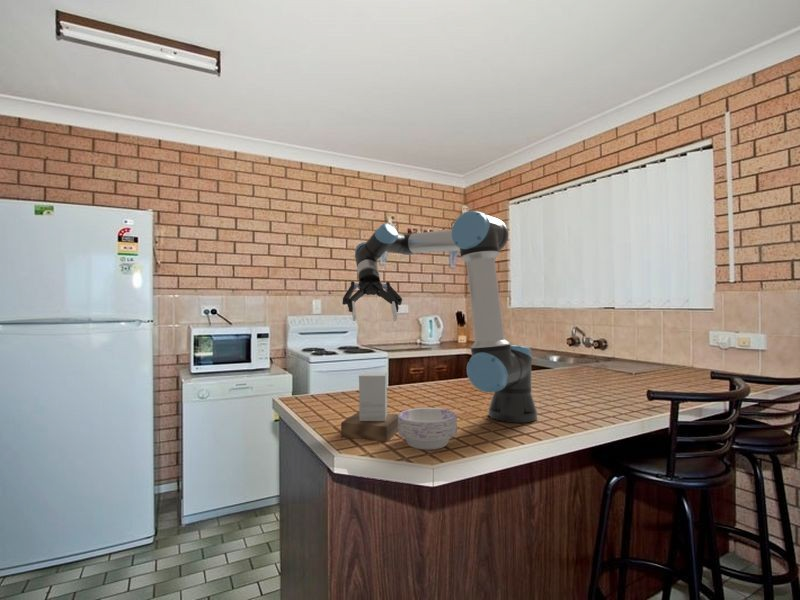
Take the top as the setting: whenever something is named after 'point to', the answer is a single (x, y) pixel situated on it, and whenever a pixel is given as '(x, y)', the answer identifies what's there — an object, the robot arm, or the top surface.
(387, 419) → the block
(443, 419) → the paper bowls
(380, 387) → the supplement box
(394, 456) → the top surface
